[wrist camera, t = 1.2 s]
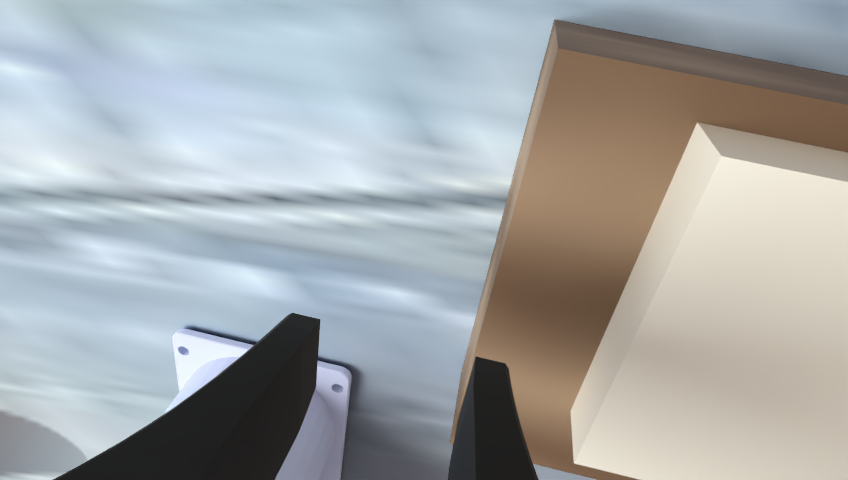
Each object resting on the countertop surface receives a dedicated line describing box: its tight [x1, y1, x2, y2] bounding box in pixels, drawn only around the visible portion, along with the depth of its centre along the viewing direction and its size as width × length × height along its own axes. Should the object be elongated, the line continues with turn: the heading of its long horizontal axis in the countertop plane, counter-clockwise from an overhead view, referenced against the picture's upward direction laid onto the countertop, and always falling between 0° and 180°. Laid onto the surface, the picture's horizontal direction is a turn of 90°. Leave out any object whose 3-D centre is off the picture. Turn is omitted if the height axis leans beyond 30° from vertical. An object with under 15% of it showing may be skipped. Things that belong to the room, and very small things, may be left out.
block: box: [570, 122, 848, 480], centre depth 14 cm, size 10×7×2 cm
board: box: [450, 20, 848, 480], centre depth 17 cm, size 14×13×4 cm
